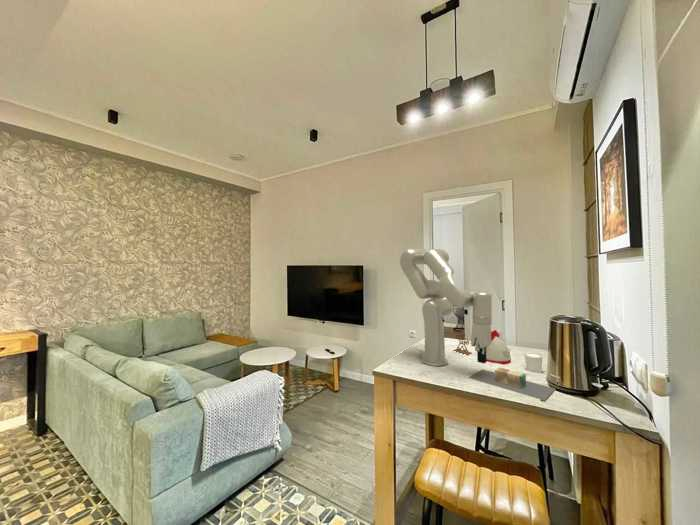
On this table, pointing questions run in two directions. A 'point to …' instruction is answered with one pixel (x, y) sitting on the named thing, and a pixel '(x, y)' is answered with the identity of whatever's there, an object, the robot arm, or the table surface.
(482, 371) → the mat
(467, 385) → the table surface
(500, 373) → the spice jar
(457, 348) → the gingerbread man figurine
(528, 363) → the white round tub
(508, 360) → the white red winter hat
